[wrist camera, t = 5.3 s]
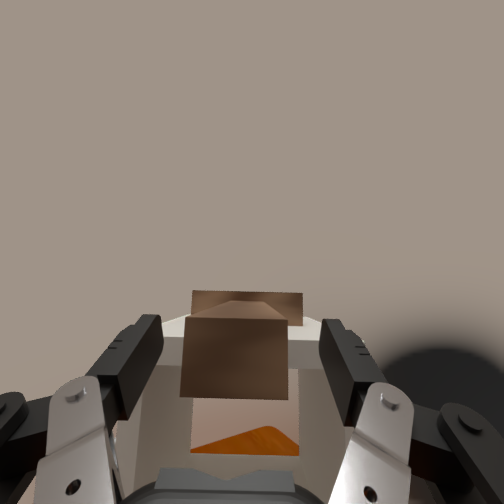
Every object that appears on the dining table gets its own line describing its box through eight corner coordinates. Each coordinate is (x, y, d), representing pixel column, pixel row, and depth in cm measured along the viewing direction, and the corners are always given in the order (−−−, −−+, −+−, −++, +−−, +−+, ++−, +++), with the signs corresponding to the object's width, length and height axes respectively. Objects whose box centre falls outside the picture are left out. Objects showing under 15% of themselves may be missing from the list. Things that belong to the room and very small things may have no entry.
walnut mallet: (288, 316, 34) (288, 292, 35) (420, 403, 7) (410, 292, 8) (208, 314, 35) (209, 291, 35) (47, 393, 7) (65, 284, 8)
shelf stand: (312, 568, 30) (307, 317, 35) (402, 979, 12) (365, 341, 17) (171, 564, 30) (188, 314, 35) (51, 966, 12) (123, 335, 17)
